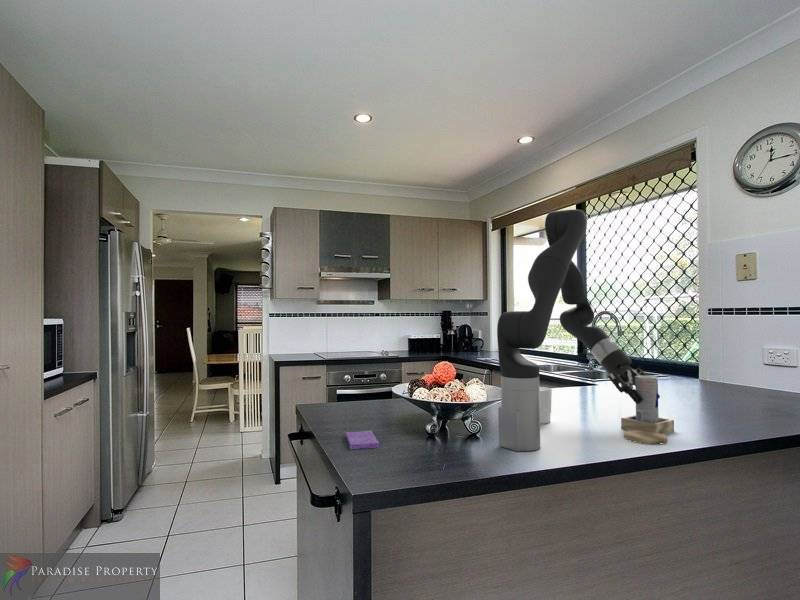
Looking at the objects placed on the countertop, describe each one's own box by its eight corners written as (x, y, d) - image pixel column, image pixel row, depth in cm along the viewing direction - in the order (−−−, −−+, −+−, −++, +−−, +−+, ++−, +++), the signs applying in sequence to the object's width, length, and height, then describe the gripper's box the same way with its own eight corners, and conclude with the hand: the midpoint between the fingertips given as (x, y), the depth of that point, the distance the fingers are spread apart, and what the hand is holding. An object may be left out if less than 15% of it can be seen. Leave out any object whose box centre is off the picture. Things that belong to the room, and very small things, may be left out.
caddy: (655, 435, 125) (654, 424, 125) (621, 428, 133) (621, 418, 133) (674, 431, 130) (673, 420, 130) (640, 424, 138) (640, 414, 138)
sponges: (350, 451, 113) (350, 443, 113) (345, 438, 126) (345, 431, 126) (379, 449, 115) (379, 442, 115) (371, 436, 127) (371, 429, 127)
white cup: (546, 425, 137) (546, 391, 137) (521, 422, 142) (520, 388, 142) (555, 420, 143) (555, 387, 143) (531, 417, 148) (530, 385, 148)
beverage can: (662, 432, 129) (661, 377, 129) (642, 432, 129) (641, 377, 129) (652, 427, 134) (651, 374, 135) (632, 427, 134) (631, 375, 135)
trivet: (653, 446, 115) (653, 442, 115) (615, 437, 123) (615, 433, 123) (674, 440, 120) (674, 436, 120) (637, 432, 129) (637, 428, 129)
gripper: (604, 349, 135) (644, 395, 125) (632, 347, 143) (672, 390, 133) (588, 366, 139) (625, 411, 129) (616, 363, 147) (653, 405, 137)
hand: (649, 400), depth 131 cm, fingers open, 8 cm apart
